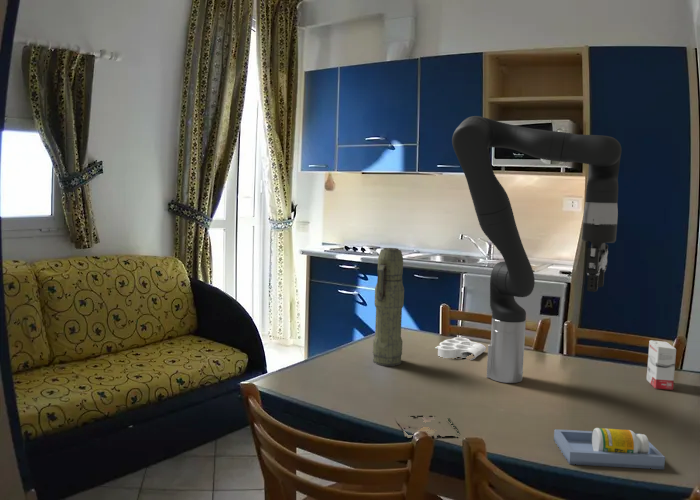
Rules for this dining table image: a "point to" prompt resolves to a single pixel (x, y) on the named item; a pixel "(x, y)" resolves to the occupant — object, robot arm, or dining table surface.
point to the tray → (581, 452)
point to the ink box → (661, 365)
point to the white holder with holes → (459, 348)
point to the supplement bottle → (619, 441)
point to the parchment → (427, 427)
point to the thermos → (388, 308)
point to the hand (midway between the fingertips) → (595, 288)
